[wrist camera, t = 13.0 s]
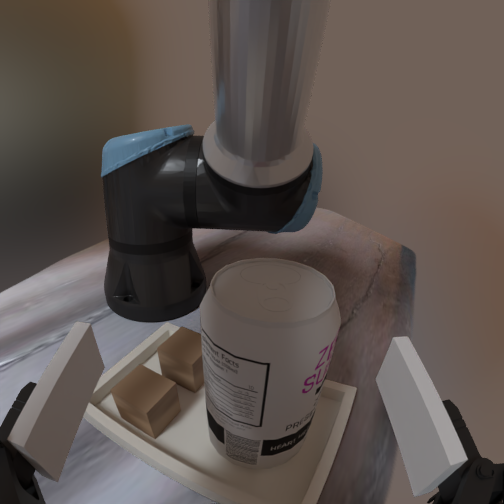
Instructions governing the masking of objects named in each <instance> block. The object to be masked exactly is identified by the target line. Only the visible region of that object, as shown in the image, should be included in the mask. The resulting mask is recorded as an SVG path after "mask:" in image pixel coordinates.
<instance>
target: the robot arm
mask: <svg viewBox="0 0 504 504" xmlns="http://www.w3.org/2000/svg"><path fill="white" fill-rule="evenodd" d="M330 2H331V0H208V6H209V26H210V45H211V63H212V77H213V78H212V79H213V94H214V109H215V121H214V122H213V123H212V124H211V125H210V126H209V127H208V129H207V131H206V133H205V135H204V136H193V134H194V130H193V129H192V126H191V125H181V126H174V127H168V128H162V129H156V130H150V131H145V132H139V133H135V134H130V135H124V136H119V137H115V138H112V139H110V140H109V141H108V142H107V143H106V144H105V146H104V148H103V153H102V173H101V177H102V179H103V192H104V203H105V213H106V221H107V230H108V238H109V246H110V251H109V257H108V262H107V268H106V275H105V281H104V290H105V295H106V300H107V303H108V305H109V307H110V308H111V309H112V310H113V311H114V312H115V313H116V314H118V315H120V316H122V317H124V318H127V319H131V320H135V321H143V322H156V321H164V320H170V319H173V318H177V317H180V316H182V315H185V314H187V313H189V312H190V311H192V310H194V309H195V308H196V307H198V306H199V305H200V304H201V302H202V300H203V298H204V296H205V294H206V277H205V273H204V270H203V268H202V265H201V263H200V260H199V257H198V255H197V252H196V249H195V247H194V244H193V239H192V228H200V229H201V228H203V229H225V230H246V231H266V232H268V233H273V234H277V233H281V232H296V231H299V230H301V229H303V228H304V227H305V226H306V225H307V224H308V223H309V221H310V220H311V218H312V216H313V214H314V212H315V209H316V206H317V203H318V193H319V192H320V189H321V183H322V158H321V153H320V150H319V148H318V147H317V145H316V144H314V143H313V142H312V139H311V136H310V134H309V132H308V131H307V129H306V128H305V127H304V125H305V121H306V117H307V112H308V108H309V103H310V98H311V94H312V89H313V85H314V80H315V75H316V71H317V66H318V61H319V57H320V52H321V47H322V41H323V37H324V32H325V27H326V22H327V17H328V12H329V7H330ZM104 368H105V367H104V364H103V361H102V358H101V355H100V352H99V349H98V346H97V343H96V340H95V337H94V333H93V330H92V327H91V324H89V323H83V322H76V323H75V324H74V326H73V327H72V329H71V330H70V332H69V333H68V335H67V336H66V338H65V339H64V341H63V342H62V344H61V346H60V347H59V349H58V350H57V352H56V353H55V355H54V357H53V358H52V360H51V361H50V363H49V365H48V366H47V368H46V370H45V371H44V373H43V375H42V376H41V378H40V380H39V381H38V383H37V384H36V383H33V382H29V383H28V384H27V385H26V386H25V387H24V388H22V389H21V391H20V393H19V394H18V396H17V398H16V401H14V403H13V405H12V408H10V410H9V412H8V414H7V416H6V417H5V419H4V421H3V423H2V425H1V427H0V504H46V503H45V501H44V498H43V496H42V493H41V491H40V488H39V485H38V482H37V480H36V478H35V476H34V472H35V469H36V470H37V471H38V472H39V473H40V474H41V475H42V476H44V477H46V478H48V479H51V480H53V481H56V482H58V481H59V478H60V475H61V472H62V469H63V467H64V464H65V461H66V458H67V456H68V453H69V450H70V448H71V445H72V443H73V440H74V438H75V435H76V433H77V430H78V428H79V425H80V423H81V420H82V418H83V416H84V413H85V411H86V408H87V406H88V404H89V401H90V399H91V397H92V395H93V392H94V390H95V388H96V386H97V383H98V381H99V379H100V377H101V374H102V372H103V370H104ZM375 380H376V382H377V385H378V388H379V391H380V393H381V396H382V399H383V402H384V404H385V407H386V410H387V413H388V416H389V419H390V422H391V425H392V428H393V431H394V434H395V437H396V440H397V443H398V446H399V449H400V452H401V455H402V458H403V462H404V465H405V468H406V472H407V475H408V478H409V481H410V485H411V489H412V492H413V496H414V497H417V496H420V495H423V494H427V493H430V492H431V491H432V490H434V489H435V488H436V487H437V486H438V488H439V492H438V493H437V494H435V495H434V496H433V497H431V498H430V499H429V501H428V502H427V503H430V502H432V501H433V500H434V502H433V504H504V463H503V464H493V462H492V461H491V460H489V459H487V458H482V457H481V456H480V454H479V452H478V450H477V448H476V446H475V443H474V441H473V439H472V437H471V435H470V432H469V430H468V428H467V427H466V424H465V422H464V420H463V419H462V416H461V414H460V412H459V409H458V408H457V407H456V406H455V405H454V404H453V403H452V402H451V401H450V400H445V401H441V399H440V397H439V395H438V393H437V391H436V389H435V387H434V385H433V383H432V381H431V379H430V377H429V375H428V373H427V371H426V369H425V367H424V366H423V364H422V362H421V360H420V358H419V356H418V354H417V353H416V351H415V349H414V347H413V345H412V343H411V341H410V340H409V338H408V336H407V337H393V339H392V342H391V344H390V347H389V349H388V352H387V354H386V356H385V359H384V361H383V363H382V366H381V368H380V370H379V373H378V375H377V377H376V379H375ZM502 500H503V503H502Z"/></svg>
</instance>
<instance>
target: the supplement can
mask: <svg viewBox="0 0 504 504" xmlns="http://www.w3.org/2000/svg"><path fill="white" fill-rule="evenodd" d="M200 324H201V342H202V359H203V373H204V387H205V399H206V411H207V422H208V431H209V437H210V442H211V443H212V445H213V446H214V448H215V449H216V451H217V452H218V454H219V455H221V456H222V457H224V458H225V459H227V460H228V461H229V462H231V463H232V464H235V465H238V466H242V467H245V468H249V469H270V468H273V467H276V466H278V465H281V464H284V463H286V462H288V461H289V460H290V459H291V458H293V457H294V456H295V455H296V454H297V453H299V451H300V449H301V447H302V445H303V443H304V441H305V439H306V436H307V433H308V430H309V428H310V425H311V422H312V419H313V416H314V413H315V410H316V407H317V404H318V401H319V398H320V395H321V391H322V388H323V385H324V382H325V378H326V375H327V372H328V368H329V365H330V362H331V358H332V354H333V351H334V347H335V344H336V340H337V336H338V332H339V328H340V325H341V316H340V311H339V306H338V303H337V301H336V296H335V290H334V285H333V284H332V283H331V282H330V281H329V279H328V278H327V277H326V276H325V275H324V274H322V273H320V272H319V271H317V270H315V269H314V268H312V267H310V266H307V265H304V264H301V263H298V262H295V261H290V260H284V259H279V258H253V259H245V260H240V261H237V262H234V263H231V264H228V265H226V266H224V267H223V268H222V269H220V270H219V271H217V272H216V273H215V275H214V276H213V278H212V280H211V282H210V287H209V289H208V290H207V292H206V294H205V296H204V298H203V300H202V302H201V304H200Z"/></svg>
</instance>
